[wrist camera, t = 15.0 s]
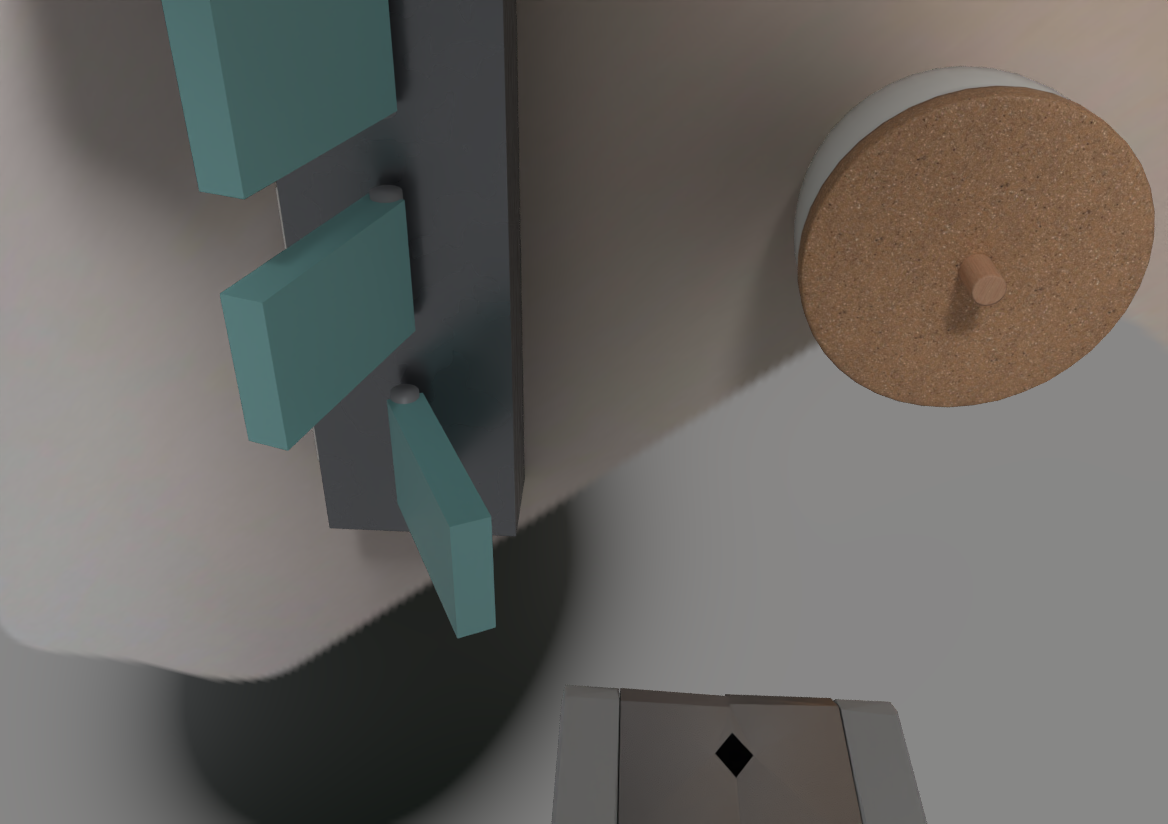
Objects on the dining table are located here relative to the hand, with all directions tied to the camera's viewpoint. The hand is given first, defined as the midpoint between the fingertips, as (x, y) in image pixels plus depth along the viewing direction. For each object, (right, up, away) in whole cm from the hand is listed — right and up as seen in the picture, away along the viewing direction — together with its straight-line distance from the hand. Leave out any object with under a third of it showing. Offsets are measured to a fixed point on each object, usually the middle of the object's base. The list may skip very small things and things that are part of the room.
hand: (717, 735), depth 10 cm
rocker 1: (-8, +15, +22) cm, 28 cm away
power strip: (-8, +11, +31) cm, 33 cm away
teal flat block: (-8, +2, +31) cm, 32 cm away
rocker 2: (-8, +8, +26) cm, 29 cm away
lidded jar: (+11, +12, +29) cm, 33 cm away
